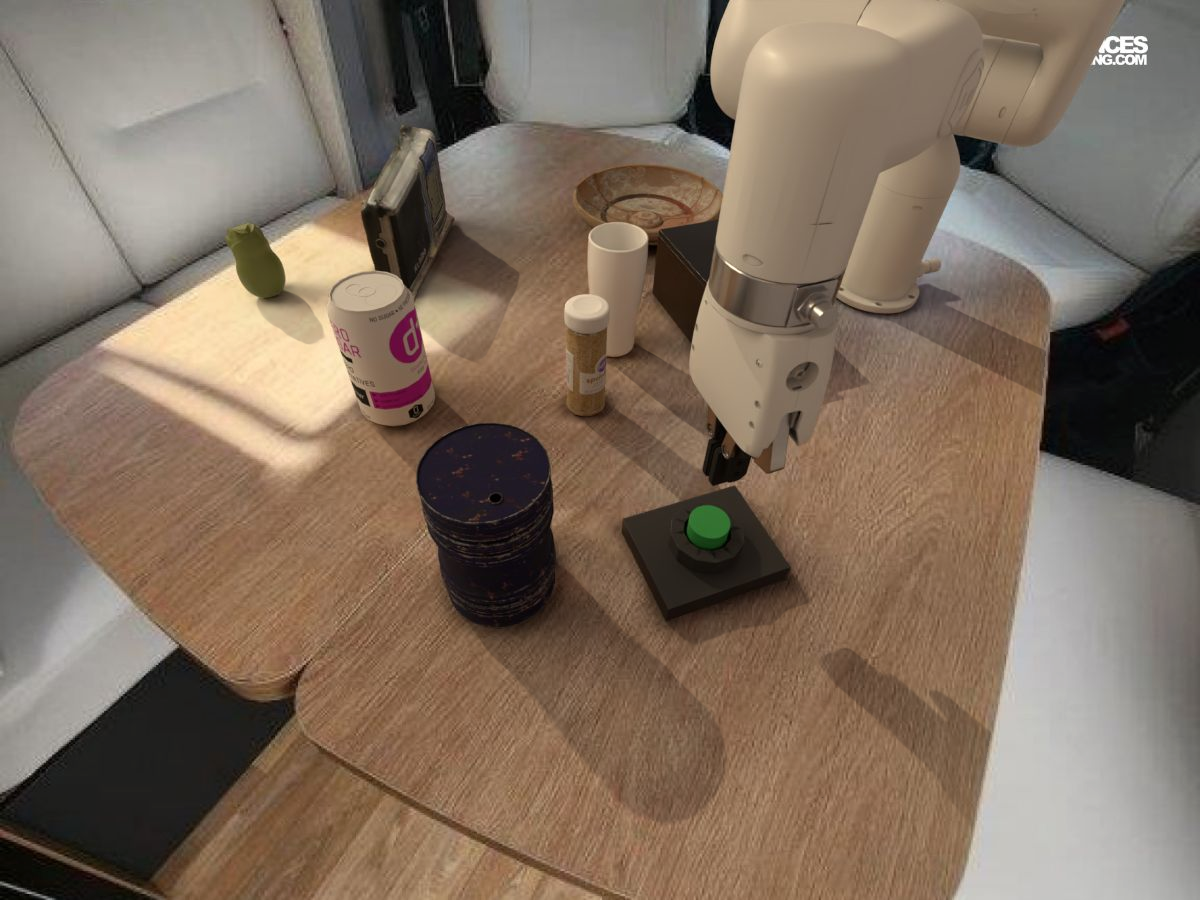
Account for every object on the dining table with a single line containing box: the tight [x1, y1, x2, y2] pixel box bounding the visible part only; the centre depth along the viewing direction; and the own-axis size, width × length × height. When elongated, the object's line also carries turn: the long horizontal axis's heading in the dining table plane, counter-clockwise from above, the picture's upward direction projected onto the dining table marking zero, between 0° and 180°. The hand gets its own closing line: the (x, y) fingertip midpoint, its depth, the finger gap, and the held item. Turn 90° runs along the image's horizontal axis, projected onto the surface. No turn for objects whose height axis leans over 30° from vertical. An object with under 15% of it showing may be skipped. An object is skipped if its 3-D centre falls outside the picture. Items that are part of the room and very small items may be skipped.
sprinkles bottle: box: [563, 293, 610, 417], centre depth 67 cm, size 5×5×13 cm
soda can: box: [326, 270, 436, 427], centre depth 66 cm, size 8×8×15 cm
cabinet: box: [652, 218, 719, 345], centre depth 81 cm, size 15×13×10 cm
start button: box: [687, 505, 731, 550], centre depth 55 cm, size 4×4×2 cm
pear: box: [225, 221, 287, 299], centre depth 82 cm, size 6×5×10 cm
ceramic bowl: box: [572, 163, 723, 246], centre depth 100 cm, size 23×24×5 cm
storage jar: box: [415, 421, 557, 629], centre depth 51 cm, size 10×10×15 cm
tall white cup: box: [586, 222, 649, 358], centre depth 74 cm, size 7×7×15 cm
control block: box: [621, 484, 792, 623], centre depth 57 cm, size 12×10×4 cm
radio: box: [360, 125, 455, 300], centre depth 87 cm, size 23×9×15 cm, turn 169°
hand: (723, 474), depth 51 cm, fingers closed
